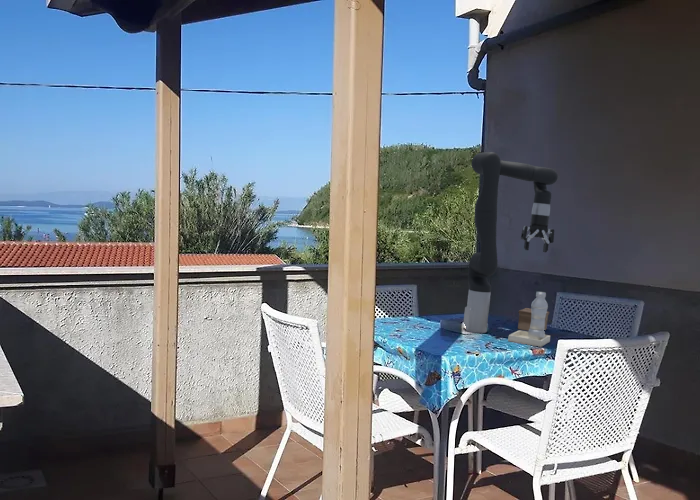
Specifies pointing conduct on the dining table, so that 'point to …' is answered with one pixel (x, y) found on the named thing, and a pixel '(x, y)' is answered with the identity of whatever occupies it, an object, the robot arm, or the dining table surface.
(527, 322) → the lidded box
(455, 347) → the dining table surface
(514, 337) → the tray
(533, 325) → the plastic bottle
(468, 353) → the dining table surface
